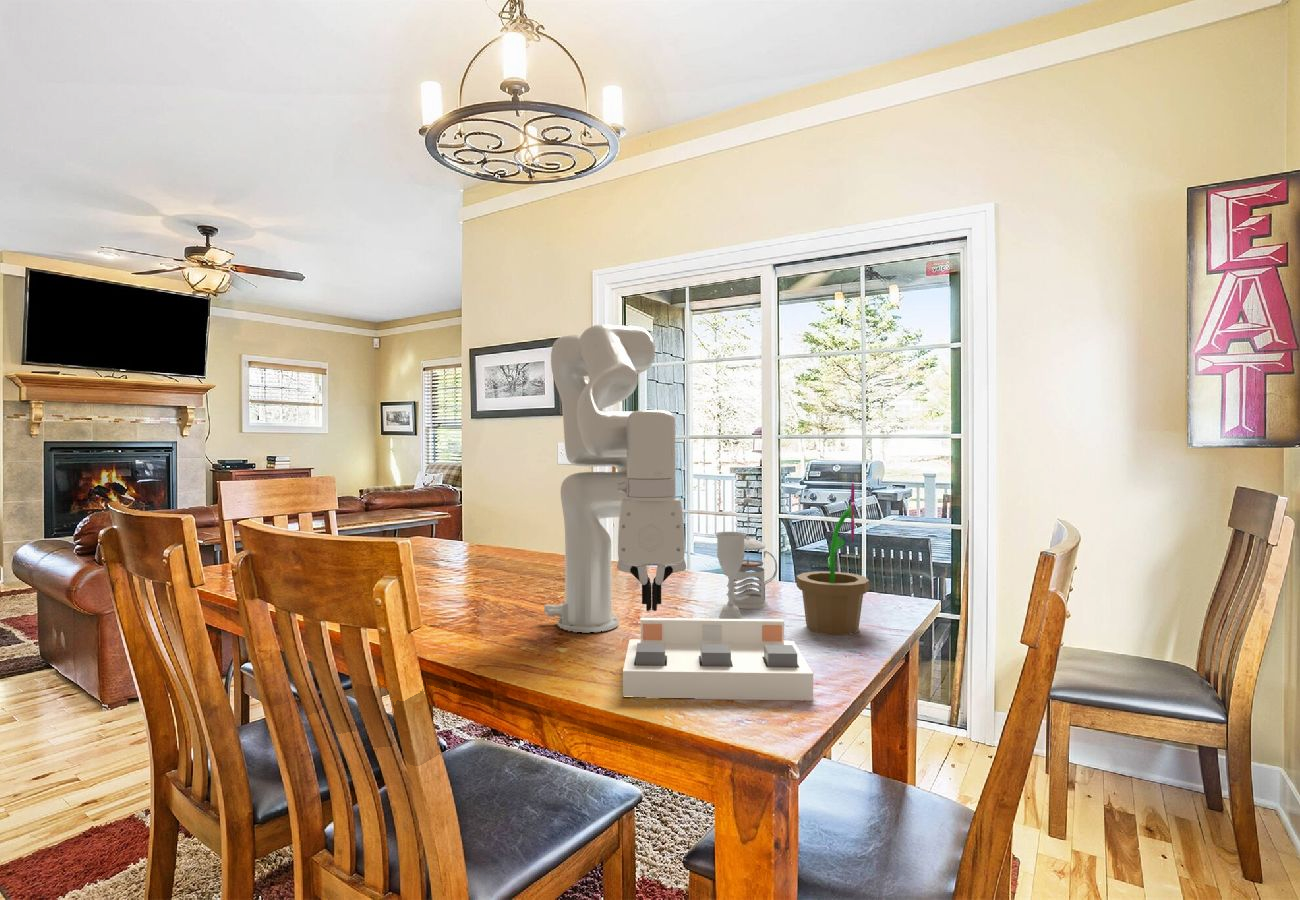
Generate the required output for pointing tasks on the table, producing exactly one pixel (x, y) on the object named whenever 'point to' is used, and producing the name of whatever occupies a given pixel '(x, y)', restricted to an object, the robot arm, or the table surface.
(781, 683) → the button board
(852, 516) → the flowerpot
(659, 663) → the button left
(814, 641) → the table surface
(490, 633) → the table surface
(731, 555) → the chalice
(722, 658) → the button middle
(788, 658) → the button right
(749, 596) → the french press
